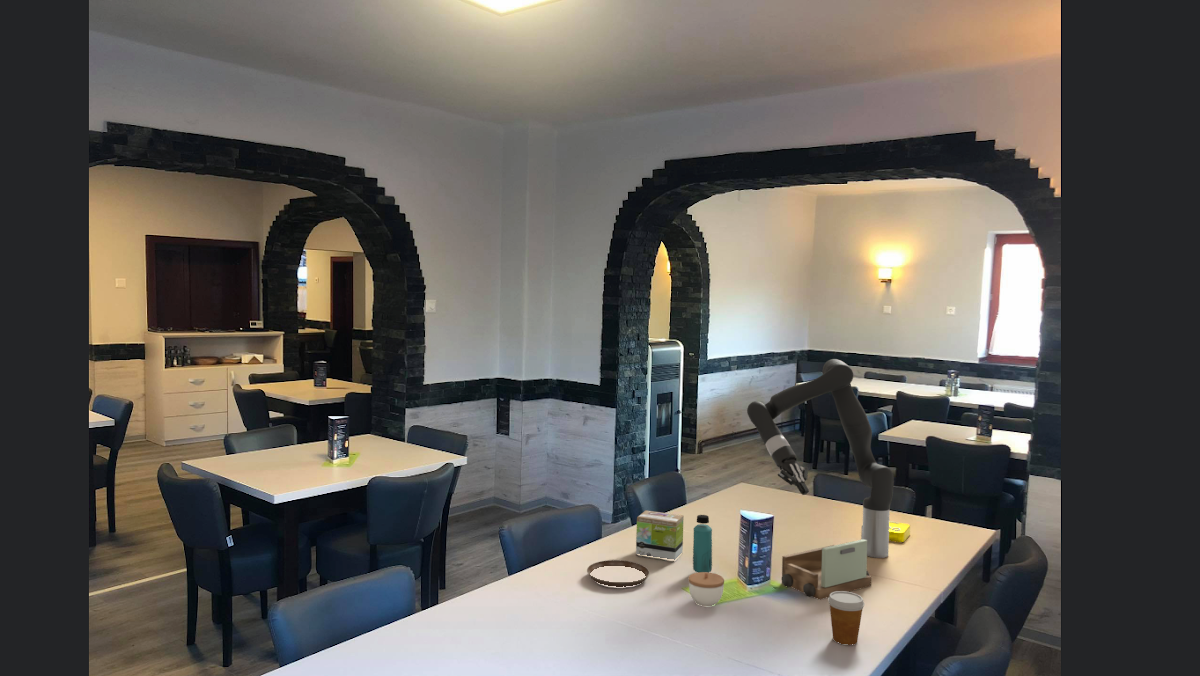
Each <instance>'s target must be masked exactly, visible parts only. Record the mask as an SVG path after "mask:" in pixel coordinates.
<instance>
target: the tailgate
mask: <svg viewBox="0 0 1200 676" xmlns="http://www.w3.org/2000/svg"><path fill="white" fill-rule="evenodd" d="M833 545H834V546H831V545H829V546H830V547H826V546H824V547H825V548H822V547H821V548H822V572H821V586H822V587H825V588H826V587H830V586H834V585H838V584H841V583H845V582H849V581H853V580H857V579H861V578H865V577H866V569H867V567H868V566H867V564H868V561H867V560H868V556H867V540H864V539H862V540H861V539H857V540H853V541H850V542H844V543H840V544H833Z"/></svg>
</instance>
